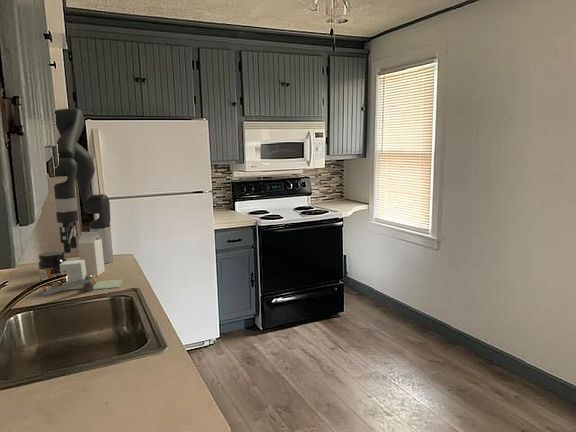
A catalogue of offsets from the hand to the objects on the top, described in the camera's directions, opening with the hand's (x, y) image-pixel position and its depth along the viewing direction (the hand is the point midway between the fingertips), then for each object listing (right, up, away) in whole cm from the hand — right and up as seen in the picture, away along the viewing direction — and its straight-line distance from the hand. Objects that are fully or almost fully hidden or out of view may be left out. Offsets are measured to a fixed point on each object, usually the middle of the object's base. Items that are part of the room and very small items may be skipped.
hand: (70, 250), depth 169 cm
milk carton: (0, -12, +20) cm, 24 cm away
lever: (+4, -13, -10) cm, 17 cm away
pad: (+13, -14, +4) cm, 20 cm away
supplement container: (-13, -14, +12) cm, 22 cm away
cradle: (+1, -15, +2) cm, 15 cm away
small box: (+1, -15, +2) cm, 15 cm away
